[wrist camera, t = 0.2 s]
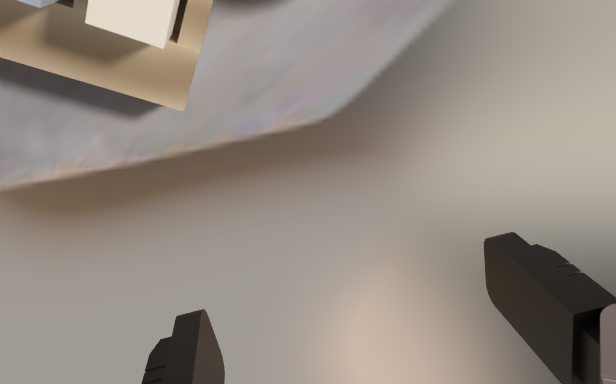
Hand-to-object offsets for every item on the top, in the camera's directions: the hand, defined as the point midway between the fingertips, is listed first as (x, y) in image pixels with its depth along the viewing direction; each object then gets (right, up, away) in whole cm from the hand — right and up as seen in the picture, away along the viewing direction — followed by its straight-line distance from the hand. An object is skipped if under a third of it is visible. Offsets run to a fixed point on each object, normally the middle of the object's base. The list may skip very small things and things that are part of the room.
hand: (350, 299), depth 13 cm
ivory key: (-10, +14, +12) cm, 21 cm away
